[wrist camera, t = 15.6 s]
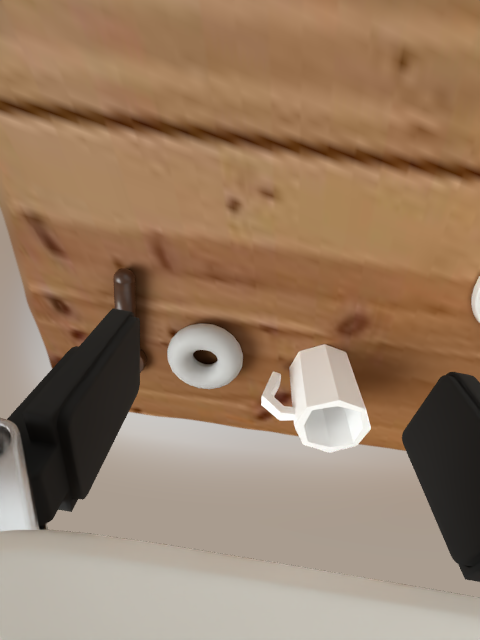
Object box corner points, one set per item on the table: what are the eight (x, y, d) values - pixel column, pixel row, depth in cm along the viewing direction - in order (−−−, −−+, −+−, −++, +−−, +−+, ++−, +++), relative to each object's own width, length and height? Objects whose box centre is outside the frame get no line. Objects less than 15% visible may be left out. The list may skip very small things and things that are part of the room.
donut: (221, 386, 46) (258, 341, 41) (218, 404, 43) (257, 358, 38) (160, 356, 44) (190, 305, 39) (152, 373, 41) (184, 319, 36)
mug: (355, 344, 40) (378, 401, 32) (346, 393, 45) (363, 454, 36) (262, 342, 41) (260, 397, 33) (262, 390, 46) (260, 449, 37)
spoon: (108, 261, 37) (98, 269, 35) (148, 269, 37) (141, 277, 35) (113, 366, 46) (106, 377, 43) (146, 372, 46) (140, 384, 44)
